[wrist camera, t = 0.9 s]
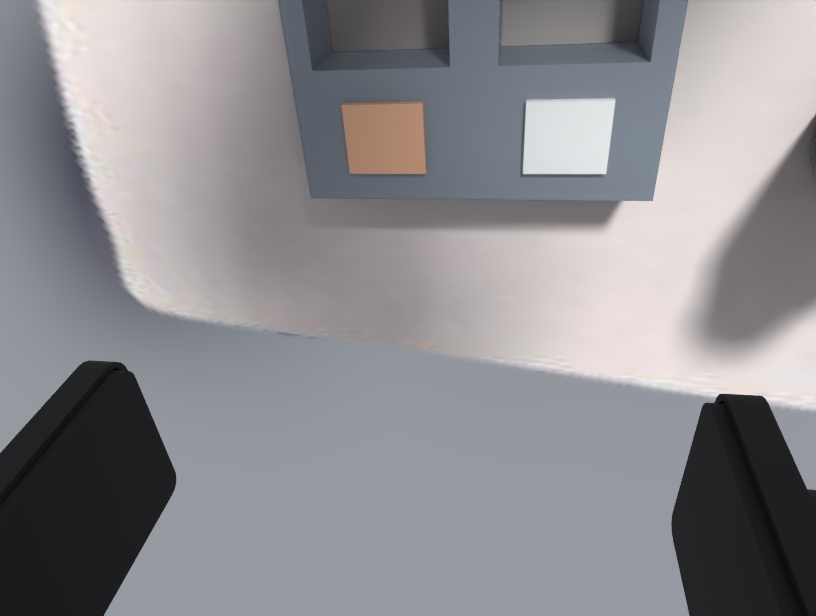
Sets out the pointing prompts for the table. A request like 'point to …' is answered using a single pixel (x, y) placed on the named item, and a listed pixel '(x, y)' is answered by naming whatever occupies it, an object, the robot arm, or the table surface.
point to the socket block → (483, 110)
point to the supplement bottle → (814, 152)
